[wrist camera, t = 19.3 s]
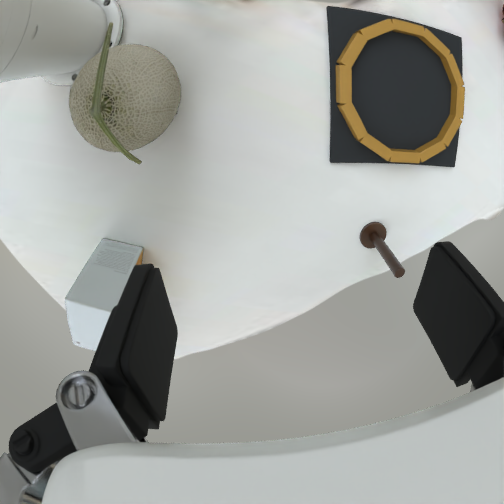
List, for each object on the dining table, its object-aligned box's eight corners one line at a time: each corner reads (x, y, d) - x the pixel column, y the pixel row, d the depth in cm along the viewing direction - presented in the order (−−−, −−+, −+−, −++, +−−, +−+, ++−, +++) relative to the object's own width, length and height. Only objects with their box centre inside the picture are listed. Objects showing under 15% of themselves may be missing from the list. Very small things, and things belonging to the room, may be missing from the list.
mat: (326, 7, 23) (327, 5, 23) (458, 37, 24) (461, 37, 23) (329, 161, 34) (331, 162, 33) (452, 165, 34) (454, 167, 33)
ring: (332, 11, 23) (336, 8, 22) (457, 40, 23) (464, 40, 22) (335, 158, 33) (338, 161, 32) (451, 163, 33) (457, 166, 32)
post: (361, 222, 38) (388, 260, 31) (387, 221, 38) (417, 257, 31) (358, 247, 41) (381, 288, 33) (382, 245, 41) (409, 284, 33)
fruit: (127, 158, 32) (67, 213, 20) (89, 77, 26) (7, 90, 14) (206, 121, 31) (184, 153, 18) (168, 33, 25) (118, 5, 12)
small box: (141, 290, 43) (118, 358, 32) (102, 281, 42) (72, 345, 31) (145, 246, 39) (115, 313, 28) (102, 236, 38) (62, 298, 27)
